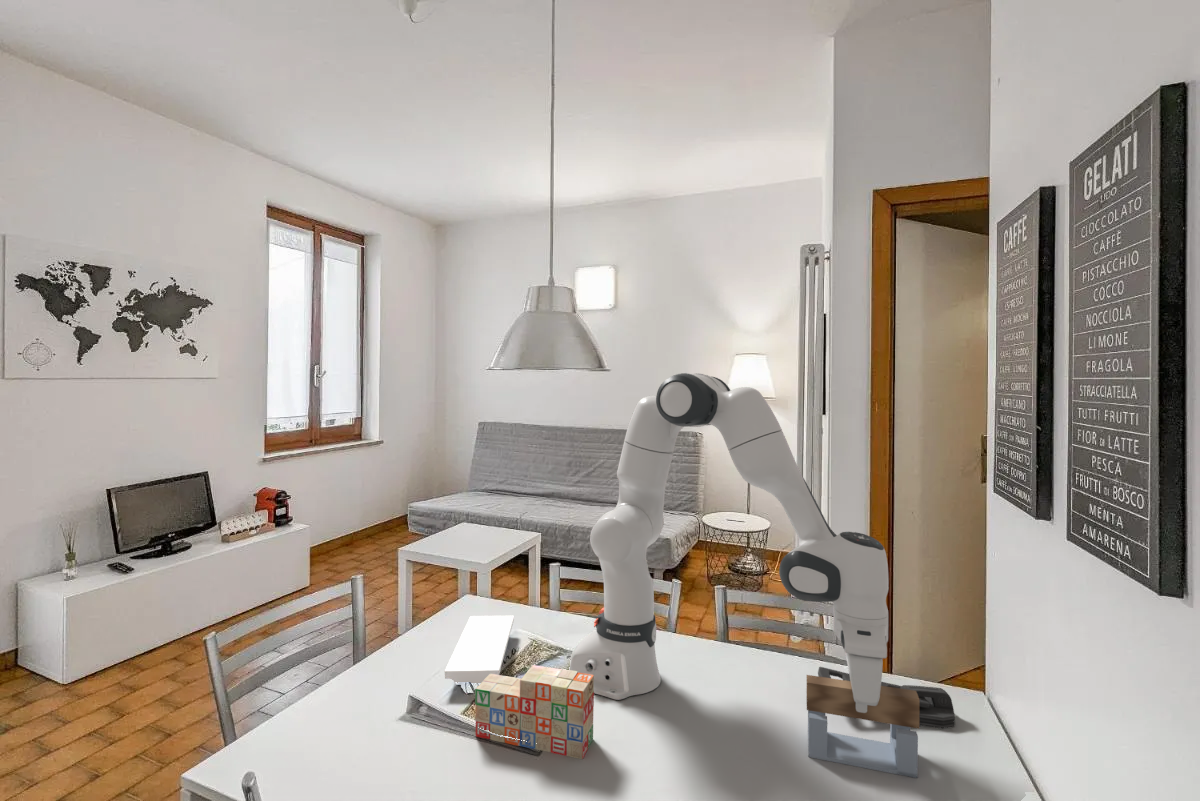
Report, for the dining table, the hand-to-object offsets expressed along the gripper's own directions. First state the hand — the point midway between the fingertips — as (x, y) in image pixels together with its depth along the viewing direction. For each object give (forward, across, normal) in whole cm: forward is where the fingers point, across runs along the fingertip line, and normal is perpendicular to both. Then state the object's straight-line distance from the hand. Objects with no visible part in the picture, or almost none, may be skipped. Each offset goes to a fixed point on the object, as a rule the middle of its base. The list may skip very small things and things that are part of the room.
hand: (859, 703), depth 102 cm
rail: (+2, 0, 0) cm, 2 cm away
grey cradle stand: (+9, 0, 0) cm, 9 cm away
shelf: (+9, -9, -81) cm, 82 cm away
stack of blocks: (+9, +15, -56) cm, 59 cm away
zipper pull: (+9, -16, +6) cm, 20 cm away
